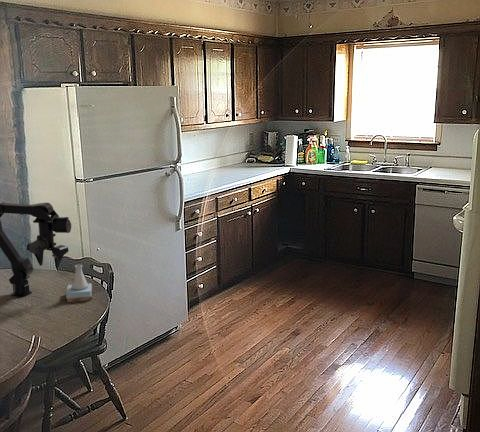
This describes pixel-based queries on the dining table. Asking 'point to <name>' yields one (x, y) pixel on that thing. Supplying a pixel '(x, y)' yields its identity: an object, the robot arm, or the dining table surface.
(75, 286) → the flask
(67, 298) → the walnut block
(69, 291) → the pale blue square slab
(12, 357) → the dining table surface
